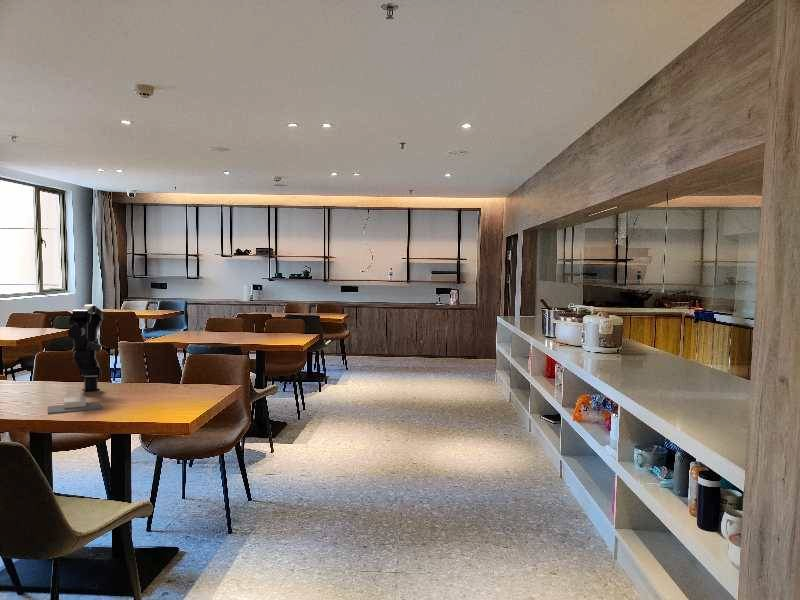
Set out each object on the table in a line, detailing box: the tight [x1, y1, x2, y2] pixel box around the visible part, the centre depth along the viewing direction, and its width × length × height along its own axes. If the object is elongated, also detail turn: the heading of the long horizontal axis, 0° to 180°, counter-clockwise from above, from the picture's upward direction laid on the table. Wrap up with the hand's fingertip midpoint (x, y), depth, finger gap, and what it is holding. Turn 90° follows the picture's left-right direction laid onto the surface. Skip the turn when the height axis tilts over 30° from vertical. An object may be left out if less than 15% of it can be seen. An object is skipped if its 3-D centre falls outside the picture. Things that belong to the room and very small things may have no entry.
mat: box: [47, 401, 103, 415], centre depth 248 cm, size 13×20×1 cm, turn 122°
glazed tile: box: [63, 396, 87, 409], centre depth 251 cm, size 3×8×10 cm
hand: (80, 370), depth 268 cm, fingers closed
